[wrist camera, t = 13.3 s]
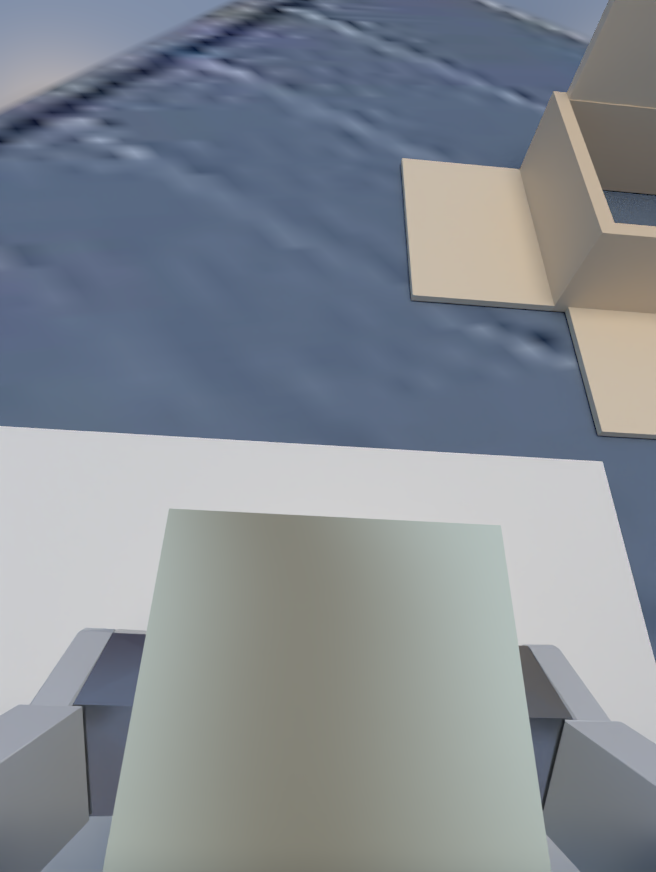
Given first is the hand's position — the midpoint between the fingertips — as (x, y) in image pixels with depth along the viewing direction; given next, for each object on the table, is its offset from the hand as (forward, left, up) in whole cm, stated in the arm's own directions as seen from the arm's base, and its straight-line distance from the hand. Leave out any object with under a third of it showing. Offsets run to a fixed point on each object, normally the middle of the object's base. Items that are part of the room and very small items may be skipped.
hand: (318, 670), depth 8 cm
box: (0, +1, -4) cm, 4 cm away
